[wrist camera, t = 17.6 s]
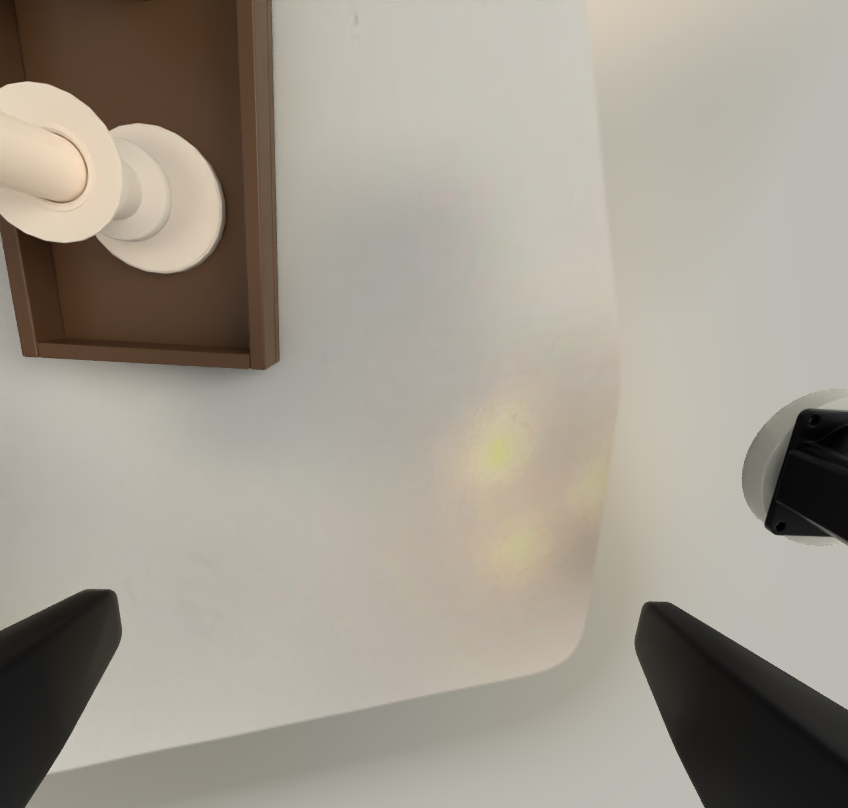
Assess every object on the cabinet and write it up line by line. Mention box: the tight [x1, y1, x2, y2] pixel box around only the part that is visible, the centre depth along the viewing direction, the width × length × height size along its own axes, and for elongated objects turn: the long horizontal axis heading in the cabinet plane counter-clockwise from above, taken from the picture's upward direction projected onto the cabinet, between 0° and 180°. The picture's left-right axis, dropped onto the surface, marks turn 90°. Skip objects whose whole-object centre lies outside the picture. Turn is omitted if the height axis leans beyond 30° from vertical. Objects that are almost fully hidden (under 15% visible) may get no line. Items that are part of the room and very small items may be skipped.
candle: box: [0, 81, 226, 274], centre depth 12 cm, size 5×5×10 cm
